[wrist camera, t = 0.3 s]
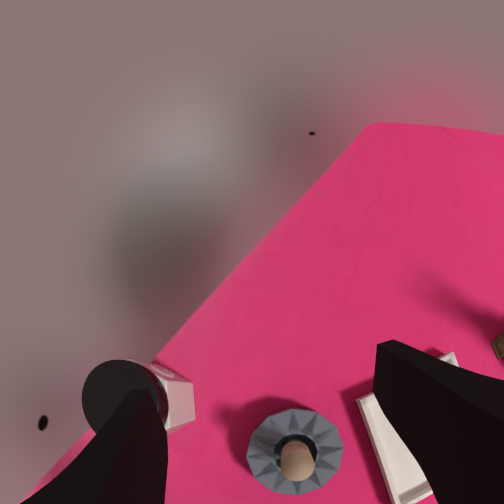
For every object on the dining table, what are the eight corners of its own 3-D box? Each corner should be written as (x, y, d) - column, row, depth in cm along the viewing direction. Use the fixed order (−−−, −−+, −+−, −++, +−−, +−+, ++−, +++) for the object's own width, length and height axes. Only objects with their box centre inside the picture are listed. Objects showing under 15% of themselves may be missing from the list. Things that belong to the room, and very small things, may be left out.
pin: (311, 455, 31) (318, 474, 23) (285, 464, 31) (286, 485, 23) (302, 433, 32) (308, 447, 24) (277, 442, 32) (276, 457, 24)
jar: (210, 389, 35) (179, 390, 24) (182, 446, 33) (141, 466, 22) (148, 355, 38) (98, 340, 27) (122, 409, 35) (66, 411, 24)
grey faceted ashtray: (348, 468, 30) (353, 475, 27) (266, 496, 29) (264, 504, 27) (321, 395, 34) (325, 396, 31) (238, 423, 33) (235, 426, 31)
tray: (476, 455, 27) (485, 458, 25) (392, 506, 27) (397, 512, 25) (444, 353, 34) (453, 351, 32) (355, 399, 33) (359, 400, 31)
